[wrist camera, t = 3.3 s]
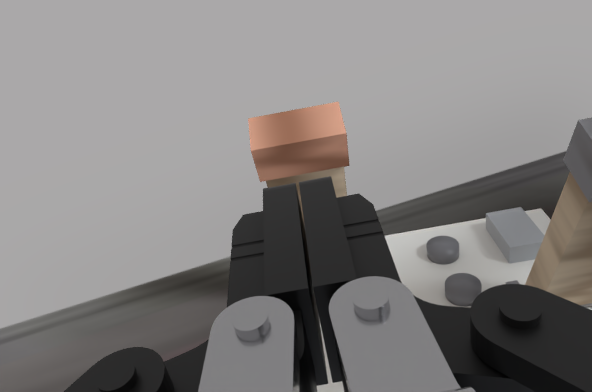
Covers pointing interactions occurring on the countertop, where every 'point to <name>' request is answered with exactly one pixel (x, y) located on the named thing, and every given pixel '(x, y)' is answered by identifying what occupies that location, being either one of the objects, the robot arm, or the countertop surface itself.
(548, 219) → the panel
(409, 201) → the countertop surface
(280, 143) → the brown long rectangular block
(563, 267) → the tan wooden post
